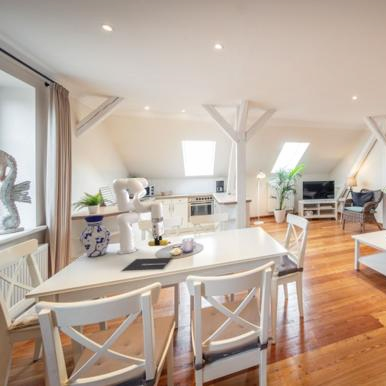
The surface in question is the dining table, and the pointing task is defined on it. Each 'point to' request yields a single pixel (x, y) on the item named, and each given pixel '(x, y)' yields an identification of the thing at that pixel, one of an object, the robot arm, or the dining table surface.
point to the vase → (95, 237)
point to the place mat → (138, 262)
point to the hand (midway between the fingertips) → (158, 244)
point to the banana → (162, 243)
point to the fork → (152, 264)
